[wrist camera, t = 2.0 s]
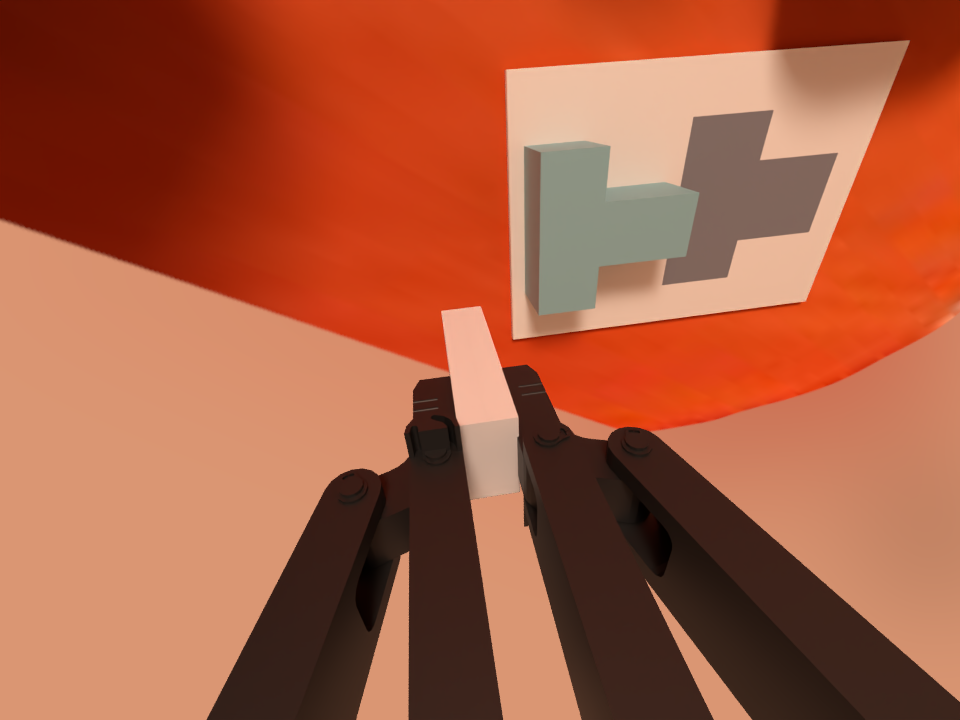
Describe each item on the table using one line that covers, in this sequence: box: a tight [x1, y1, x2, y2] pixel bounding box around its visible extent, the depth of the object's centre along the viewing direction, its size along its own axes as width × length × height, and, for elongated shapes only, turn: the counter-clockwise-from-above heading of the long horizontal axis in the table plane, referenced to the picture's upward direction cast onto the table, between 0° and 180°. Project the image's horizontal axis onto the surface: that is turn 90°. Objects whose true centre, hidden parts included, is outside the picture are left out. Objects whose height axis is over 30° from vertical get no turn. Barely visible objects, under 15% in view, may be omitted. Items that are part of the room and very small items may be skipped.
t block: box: [524, 141, 699, 315], centre depth 27 cm, size 10×10×4 cm
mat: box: [505, 40, 910, 340], centre depth 30 cm, size 18×26×1 cm
